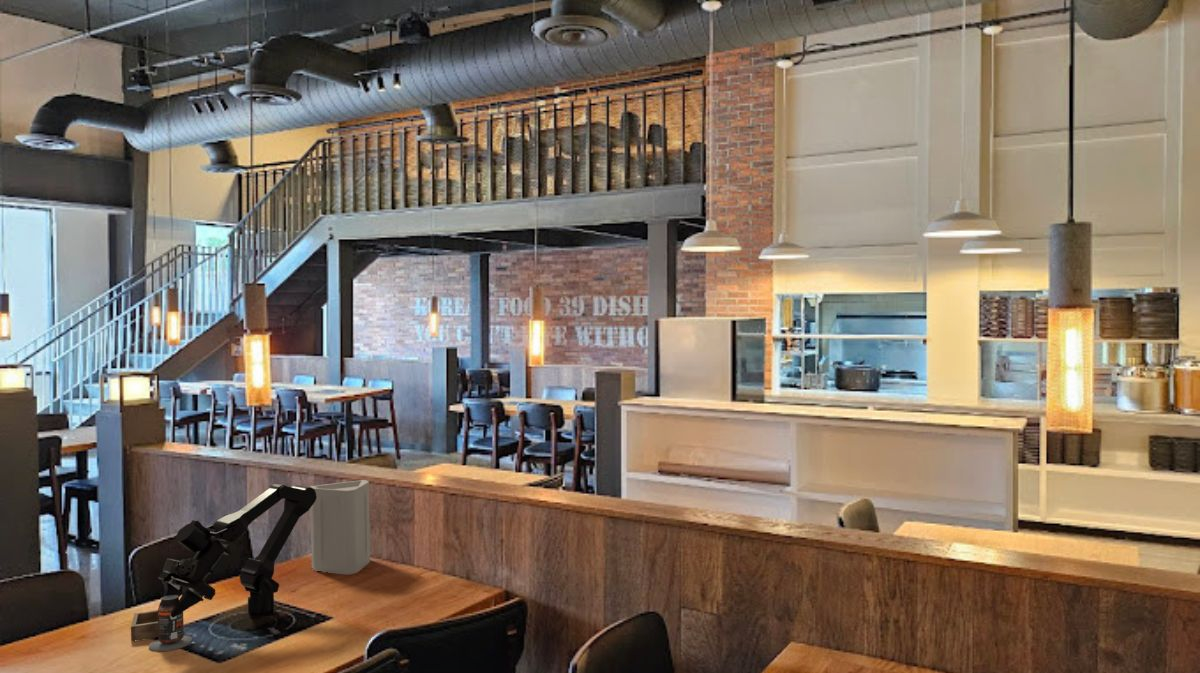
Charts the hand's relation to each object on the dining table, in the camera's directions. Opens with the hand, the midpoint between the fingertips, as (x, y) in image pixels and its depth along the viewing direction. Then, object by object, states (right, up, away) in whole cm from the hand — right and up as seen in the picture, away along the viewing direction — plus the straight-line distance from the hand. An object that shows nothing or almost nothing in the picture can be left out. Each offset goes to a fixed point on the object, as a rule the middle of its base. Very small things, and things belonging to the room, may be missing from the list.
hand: (165, 614), depth 215 cm
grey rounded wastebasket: (+27, -7, +65) cm, 71 cm away
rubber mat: (+1, -8, +1) cm, 8 cm away
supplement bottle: (+1, -7, +1) cm, 8 cm away
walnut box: (-8, -8, +10) cm, 15 cm away
